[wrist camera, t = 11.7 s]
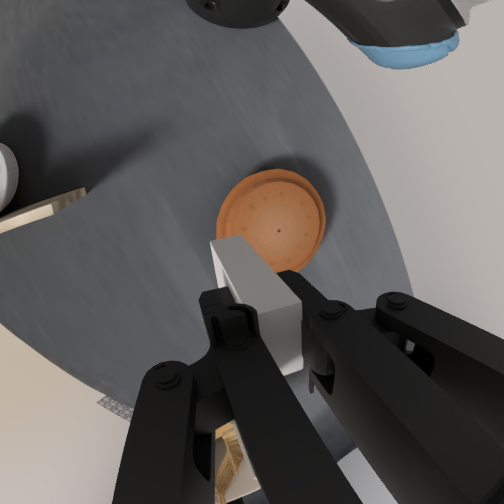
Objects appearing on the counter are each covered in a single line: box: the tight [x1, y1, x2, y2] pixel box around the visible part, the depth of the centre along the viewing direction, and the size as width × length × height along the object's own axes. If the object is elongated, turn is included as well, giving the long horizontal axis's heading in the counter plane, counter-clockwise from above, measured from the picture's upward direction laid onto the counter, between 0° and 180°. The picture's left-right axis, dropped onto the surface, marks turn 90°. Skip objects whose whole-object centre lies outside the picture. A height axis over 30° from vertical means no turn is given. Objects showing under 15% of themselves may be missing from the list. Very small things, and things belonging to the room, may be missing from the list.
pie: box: [217, 168, 326, 273], centre depth 38 cm, size 16×16×5 cm
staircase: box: [215, 420, 261, 504], centre depth 38 cm, size 8×12×26 cm
